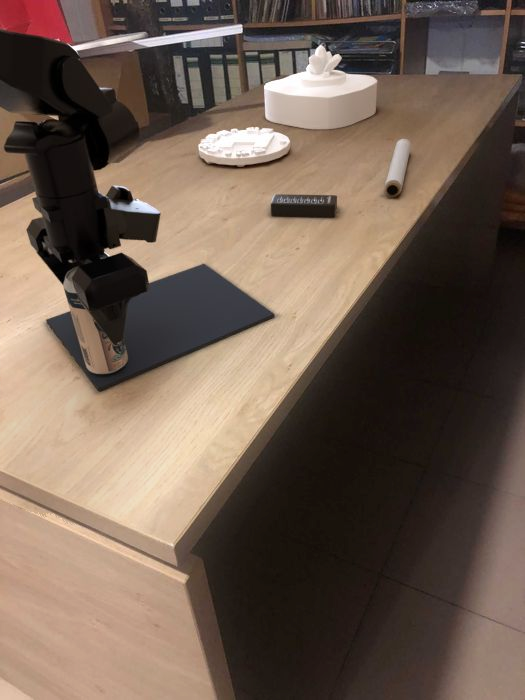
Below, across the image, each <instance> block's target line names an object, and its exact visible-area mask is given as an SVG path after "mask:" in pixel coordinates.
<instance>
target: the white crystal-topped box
mask: <svg viewBox="0 0 525 700" xmlns="http://www.w3.org/2000/svg"><path fill="white" fill-rule="evenodd" d="M314 51H315V52H314V53H313V54H312V55H310V56H309V57H308V63H309V64H308V65H307V67H306V68H305V69H306V71H301V72H297V73H294V74H291V75H288V76H286V77H284V78H281V79H275V80H272V81H269V82H267V83H265V85H264V87H263V91H264V92H263V93H264V94H263V95H264V112H265V113H264V114H265V115H264V116H265V119H266V120H267V121H269V122H271V123H275V124H278V125H283V126H284V125H285V126H290V127H294V128H299V129H305V130H318V131H319V130H335V129H341V128H345V127H348V126H352V125H354V124H357V123H359V122H362V121H363V120H366V119H368V118H370V117H373V116H374V115H375V114H376V111H377V94H378V80H377V78H375V77H374V76H372V75H368V74H354V73H346V72H344V71H342V70H338V69H335V68H336V67H337V66H338V65H339V63H340V62H341V60H342V59H343V57H342V56H341V55H340V54H339V53H337V54H334V55H332V53H331V51H327V50H326V48H325V47H324V46H323V44H320V45H318V46H317V47H316V49H315V50H314Z"/></svg>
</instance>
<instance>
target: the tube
mask: <svg viewBox="0 0 525 700" xmlns="http://www.w3.org/2000/svg"><path fill="white" fill-rule="evenodd" d="M411 149H412V144H411V141H410V140H409V139H407V138H401V139H399V140H398V141H397V142H396V144H395V148H394V152H393V154H392V159H391V162H390V166H389V169H388V173H387V177H386V181H385V183H384V192H385V193H386V195H387V196H389V197H391V198H393V197H397V196H398V195H399V194H401V193H402V189H403V185H404V182H405V176H406V171H407V167H408V162H409V158H410V153H411Z"/></svg>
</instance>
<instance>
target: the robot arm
mask: <svg viewBox="0 0 525 700" xmlns="http://www.w3.org/2000/svg"><path fill="white" fill-rule="evenodd" d="M80 59H81V56H80V55H79V53H78V51H77V50H76V49H75V48H74V47H73V46H71V45H70V44H69V43H67V42H66V41H61V40H58V39H54V38H50V37H46V36H42V35H35V34H29V33H22V32H16V31H15V32H14V31H10V30H6V29H2V28H0V108H1V109H2V110H5V111H6V112H8V113H11V114H27V115H28V114H29V115H32V116H46V117H47V116H49V117H57V118H56V119H54V118H48V119H44V120H42V121H39V122H36V121H25V120H24V121H22V120H21V121H19V120H15V121H14V124H13V129H12V131H11V133H10V134H8V137H6V139H5V143H4V145H3V151H4V152H5V153H8V154H18V155H19V154H20V155H24V158H25V161H26V165H27V168H28V172H29V175H30V178H31V183H32V186H33V189H34V193H35V196H34V197H32V199H31V200H32V203H33V206H34V209H35V210H36V211H37V212H39V214H41V216H40V217H37V218H33V219H31V221H30V222H29V224H28V226H27V228H26V229H25V230H26V233H27V237H28V240H29V243H30V246H31V247H32V248H33V249H34V250H35V252H36V254H37V256H39V258H40V259H41V260H42V262H43V263H44V264H45V265H46V266H47V268H48V269H49V270H50V272H51V273H52V274H53V275H54V277H56V279H57V280H58V282H60V284H61V285H62V286H63V284H64V280H65V276H66V274H67V272H68V271H69V270H71V269H73V268H75V267H77V266H78V268H77V270H76V271H75V273H74V275H73V276H72V282H73V285H74V288H75V291H76V293H77V295H78V297H77V299H78V300H79V301H80V303H81V304H82V305H83V306H84V308H85V309H86V310H87V311H88V313H89V314H90V315H91V316H92V318H93V319H94V320H95V322H96V323H97V324H98V325H99V327H100V328H101V329H102V331H103V332H104V333H105V334H106V336H107V337H108V338H109V339H110V341H111V342H112V343H113V344H116V343H119V342H121V341H122V340H123V335H124V327H125V320H126V313H127V308H128V303H129V301H130V300H131V299H132V298H133V297H136V296H138V295H140V294H141V293H144V292H147V291H148V289H149V288H150V286H149V283H150V281H149V276H148V271H147V269H145V268H144V267H143V266H142V265H141V264H139V263H138V262H137V261H136V260H135V259H134V258H132V257H131V256H128V255H127V254H125V253H124V252H119V253H115V254H112V255H109V254H108V253H106V249H109V250H113V249H116V248H119V247H121V246H122V243H121V240H126V241H145V242H146V243H149V244H150V243H151V244H152V243H153V244H154V243H156V242H157V240H158V239H157V238H158V233H159V227H160V226H159V225H160V219H161V215H162V214H161V213H162V212H160V211H159V210H158V209H156V208H155V207H153V206H152V205H150V204H149V203H147V202H145V201H142V200H140V199H138V198H133V194H132V192H131V190H130V189H128V188H127V187H125V186H120V185H111V186H110V187H109V190H108V191H107V193H106V194H105V195H104V194H102V193H101V192H100V191H99V188H98V184H97V179H96V175H95V171H101V170H102V169H104V168H106V167H107V166H109V165H111V164H112V163H114V162H115V161H117V160H118V159H120V158H123V156H125V155H127V154H128V153H130V152H132V151H133V150H134V149H135V148H136V146H137V145H138V143H139V141H140V125H139V123H138V121H137V120H136V118H135V115H134V114H133V112H132V111H131V109H129V108H128V106H127V105H125V104H124V103H123V102H121V101H120V100H118V99H117V94H116V93H117V92H116V89H115V88H113V87H100V86H99V84H98V83H97V82H96V80H95V79H94V78H93V76H92V75H91V73H90V72H89V71H88V69H87V67H86V66H85V65H84V63H83V62H82V61H81V60H80Z"/></svg>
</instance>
